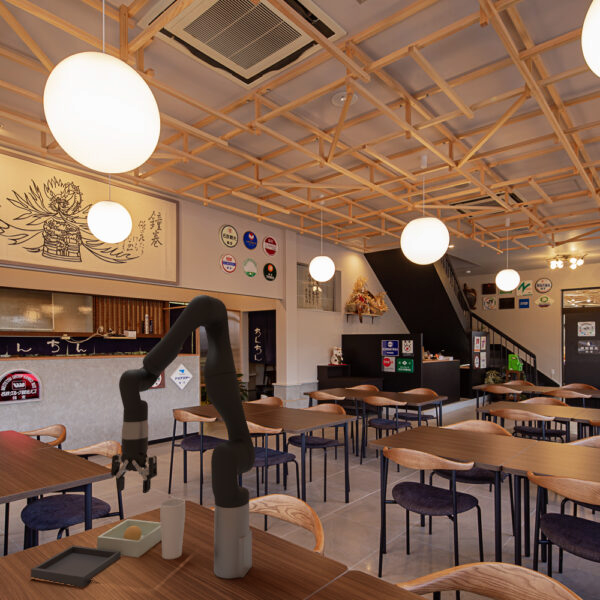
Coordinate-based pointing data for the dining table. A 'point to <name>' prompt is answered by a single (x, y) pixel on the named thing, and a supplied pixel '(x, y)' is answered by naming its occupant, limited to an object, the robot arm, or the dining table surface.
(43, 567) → the tray
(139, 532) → the ball
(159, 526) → the open box
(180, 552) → the drinking glass
